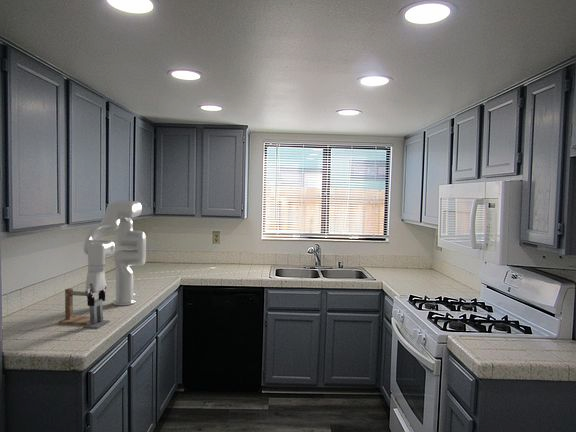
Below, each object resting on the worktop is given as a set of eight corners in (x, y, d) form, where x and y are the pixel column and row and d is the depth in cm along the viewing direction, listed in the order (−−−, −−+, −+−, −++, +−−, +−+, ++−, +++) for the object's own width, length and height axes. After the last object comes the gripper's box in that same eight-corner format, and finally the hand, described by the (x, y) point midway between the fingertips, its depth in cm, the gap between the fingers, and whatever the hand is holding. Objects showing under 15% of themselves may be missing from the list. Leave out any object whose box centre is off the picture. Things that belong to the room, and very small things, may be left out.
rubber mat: (95, 320, 210) (95, 319, 210) (109, 321, 209) (109, 320, 209) (82, 327, 199) (82, 326, 199) (97, 328, 198) (97, 327, 198)
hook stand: (58, 323, 204) (58, 291, 203) (71, 318, 214) (71, 286, 213) (86, 325, 203) (86, 292, 202) (97, 319, 213) (97, 287, 212)
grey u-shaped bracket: (98, 320, 208) (97, 298, 207) (103, 320, 208) (102, 298, 207) (90, 326, 201) (89, 303, 199) (94, 326, 201) (93, 304, 199)
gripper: (98, 264, 212) (98, 298, 213) (78, 270, 195) (78, 307, 195) (112, 265, 211) (112, 299, 212) (94, 271, 194) (94, 308, 195)
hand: (96, 303), depth 204 cm, fingers open, 9 cm apart
